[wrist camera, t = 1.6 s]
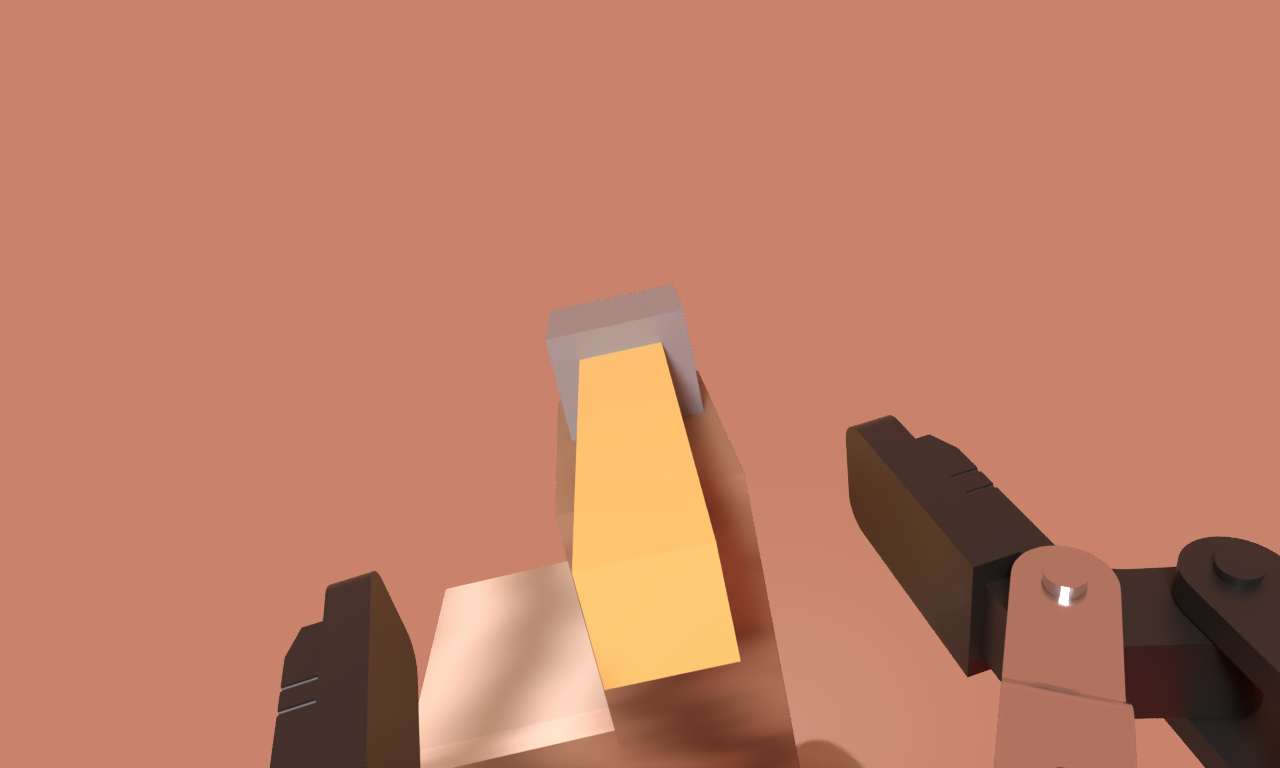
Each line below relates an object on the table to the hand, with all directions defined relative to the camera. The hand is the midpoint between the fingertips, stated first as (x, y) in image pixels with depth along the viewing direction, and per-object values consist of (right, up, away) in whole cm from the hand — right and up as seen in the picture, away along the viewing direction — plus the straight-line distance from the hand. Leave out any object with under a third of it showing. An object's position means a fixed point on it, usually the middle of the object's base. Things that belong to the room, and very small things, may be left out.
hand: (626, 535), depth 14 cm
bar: (0, -1, +13) cm, 13 cm away
